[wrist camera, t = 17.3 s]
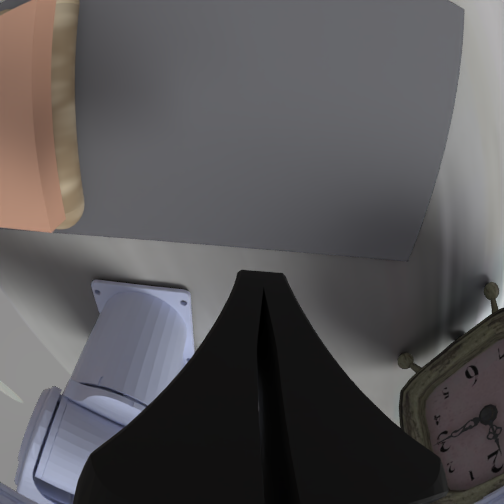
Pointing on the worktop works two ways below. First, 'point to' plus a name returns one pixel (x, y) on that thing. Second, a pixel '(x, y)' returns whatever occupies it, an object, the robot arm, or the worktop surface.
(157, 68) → the mat
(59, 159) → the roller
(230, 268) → the worktop surface
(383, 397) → the worktop surface
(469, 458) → the tabletop clock
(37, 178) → the slab
